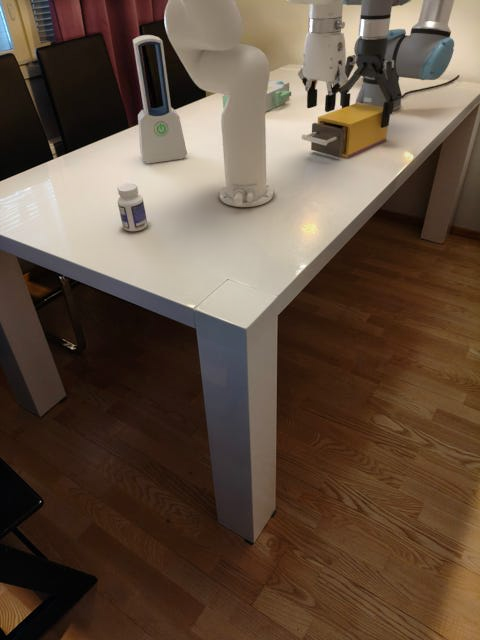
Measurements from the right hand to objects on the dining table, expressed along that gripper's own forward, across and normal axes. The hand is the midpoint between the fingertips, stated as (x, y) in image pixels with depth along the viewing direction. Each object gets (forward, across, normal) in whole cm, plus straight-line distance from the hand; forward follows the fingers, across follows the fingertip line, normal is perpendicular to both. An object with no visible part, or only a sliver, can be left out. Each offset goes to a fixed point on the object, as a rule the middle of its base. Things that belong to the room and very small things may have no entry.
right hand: (363, 122), depth 139 cm
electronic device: (+5, +35, +46) cm, 58 cm away
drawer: (+4, 0, +11) cm, 12 cm away
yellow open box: (+5, 0, +5) cm, 7 cm away
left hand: (-8, 0, +20) cm, 22 cm away
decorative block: (+5, +51, -8) cm, 52 cm away
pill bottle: (+6, +5, +76) cm, 77 cm away
